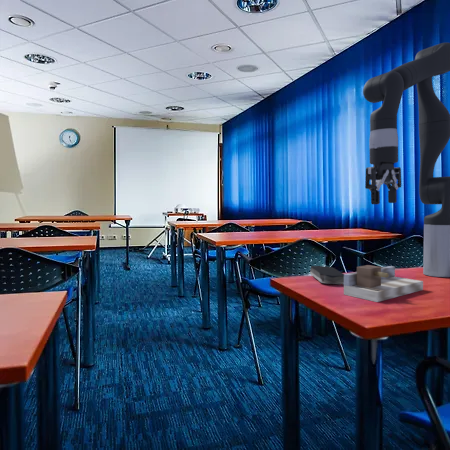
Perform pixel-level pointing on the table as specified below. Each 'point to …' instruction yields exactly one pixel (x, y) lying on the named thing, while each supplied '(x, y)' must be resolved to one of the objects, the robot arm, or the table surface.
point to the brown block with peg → (370, 276)
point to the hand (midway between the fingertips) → (384, 203)
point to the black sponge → (327, 275)
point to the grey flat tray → (388, 287)
